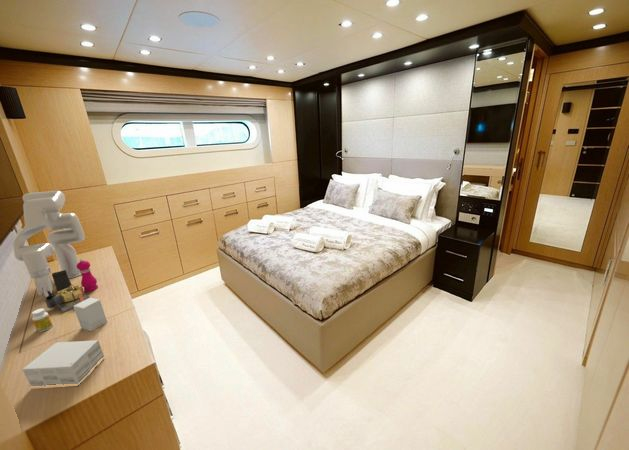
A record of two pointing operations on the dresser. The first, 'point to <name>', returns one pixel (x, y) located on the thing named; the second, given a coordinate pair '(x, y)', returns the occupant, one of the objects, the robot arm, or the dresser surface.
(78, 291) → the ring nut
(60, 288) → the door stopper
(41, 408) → the dresser surface
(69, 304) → the flange base
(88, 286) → the pepper mill
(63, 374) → the supplement box
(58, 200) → the robot arm
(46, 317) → the supplement bottle
